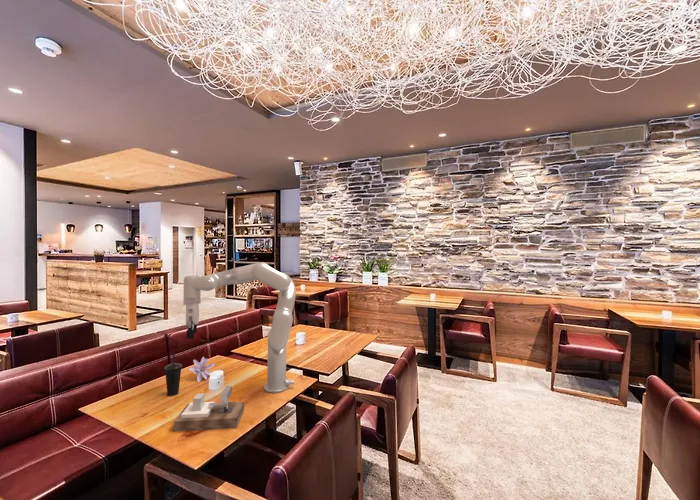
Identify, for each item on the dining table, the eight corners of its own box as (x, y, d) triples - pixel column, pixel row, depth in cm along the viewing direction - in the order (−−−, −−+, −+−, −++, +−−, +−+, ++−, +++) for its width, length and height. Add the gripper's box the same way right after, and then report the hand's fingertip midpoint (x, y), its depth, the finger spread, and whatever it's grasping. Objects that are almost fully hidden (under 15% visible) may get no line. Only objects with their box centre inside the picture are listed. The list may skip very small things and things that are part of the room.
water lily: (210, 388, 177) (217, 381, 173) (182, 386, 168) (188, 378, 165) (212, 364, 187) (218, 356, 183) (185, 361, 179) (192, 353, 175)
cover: (214, 404, 137) (215, 390, 137) (207, 417, 127) (207, 401, 127) (190, 406, 136) (190, 391, 136) (181, 418, 126) (181, 402, 126)
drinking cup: (185, 391, 158) (185, 352, 158) (172, 398, 150) (172, 356, 150) (173, 389, 160) (174, 350, 160) (160, 395, 153) (160, 354, 153)
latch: (231, 403, 137) (231, 385, 137) (226, 413, 129) (227, 394, 129) (211, 404, 136) (212, 386, 136) (205, 414, 128) (206, 395, 128)
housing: (244, 410, 140) (244, 400, 140) (237, 427, 126) (237, 417, 126) (187, 413, 137) (187, 403, 137) (173, 431, 123) (173, 420, 123)
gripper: (198, 303, 147) (198, 339, 147) (202, 297, 163) (202, 330, 163) (180, 304, 144) (180, 341, 144) (186, 298, 161) (186, 331, 161)
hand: (191, 335), depth 154 cm, fingers open, 9 cm apart
